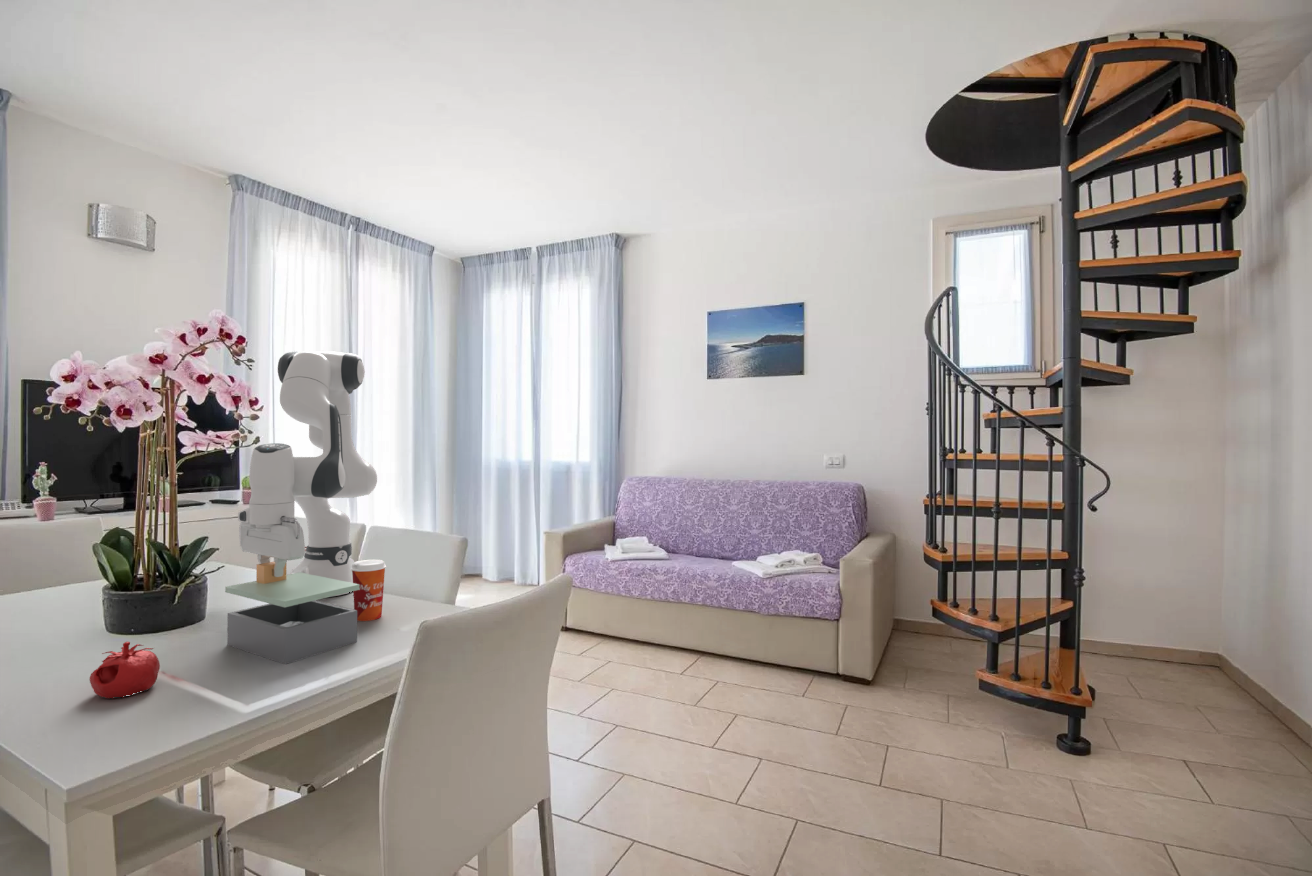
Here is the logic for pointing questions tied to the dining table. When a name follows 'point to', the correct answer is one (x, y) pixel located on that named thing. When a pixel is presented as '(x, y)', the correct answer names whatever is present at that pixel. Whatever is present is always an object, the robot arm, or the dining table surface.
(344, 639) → the tub
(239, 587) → the lid
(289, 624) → the steel part
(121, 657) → the red tomato
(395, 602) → the dining table surface
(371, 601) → the coffee cup
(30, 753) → the dining table surface
